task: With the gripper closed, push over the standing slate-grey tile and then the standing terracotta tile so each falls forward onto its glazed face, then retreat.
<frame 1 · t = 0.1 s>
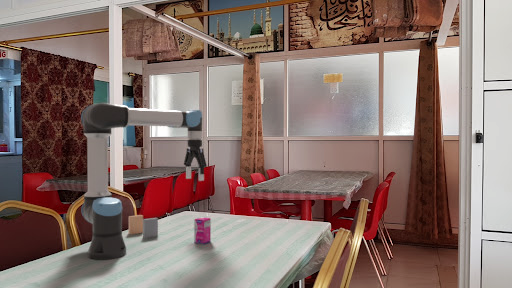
hand: (194, 179, 208), 28 cm above the table, fingers open, 13 cm apart
terracotta tile: (135, 233, 207), on the table
supplement box: (202, 242, 188), on the table
slate tile: (150, 236, 199), on the table
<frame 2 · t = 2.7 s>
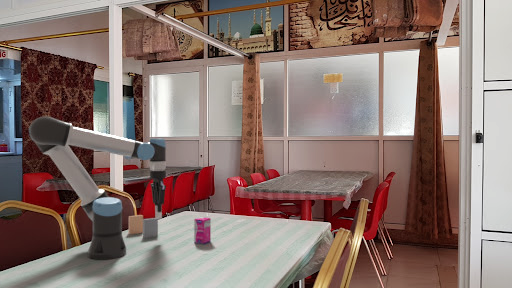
hand: (158, 218, 192), 11 cm above the table, fingers closed
nothing on the table moved.
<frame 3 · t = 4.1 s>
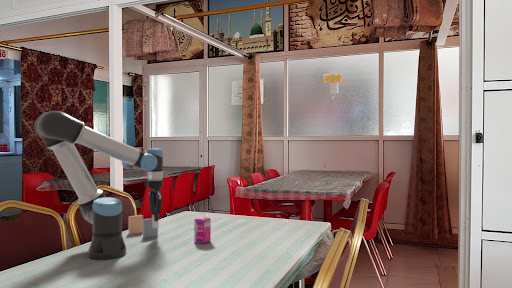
hand: (155, 227, 195), 6 cm above the table, fingers closed
nothing on the table moved.
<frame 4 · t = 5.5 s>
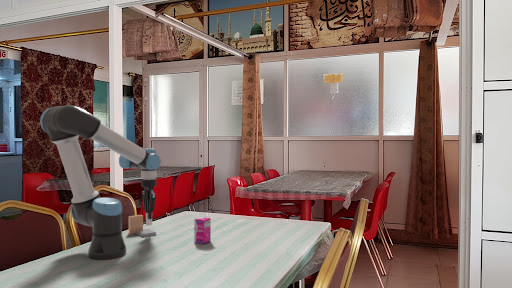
hand: (148, 225, 201), 5 cm above the table, fingers closed
slate tile: (149, 234, 200), point 1 cm above the table, tilted 90°
everything else where it was.
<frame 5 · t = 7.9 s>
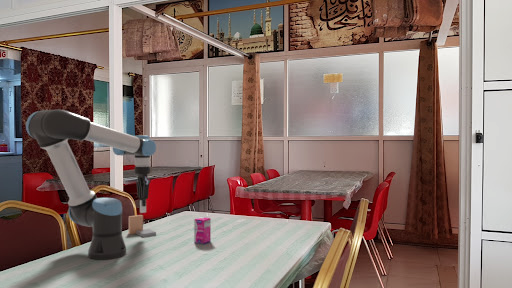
hand: (143, 212, 200), 12 cm above the table, fingers closed
nothing on the table moved.
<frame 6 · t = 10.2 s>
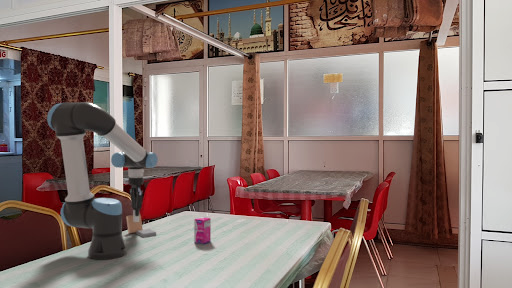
hand: (136, 221, 207), 6 cm above the table, fingers closed
terracotta tile: (135, 232, 207), on the table, tilted 22°
everything else where it was.
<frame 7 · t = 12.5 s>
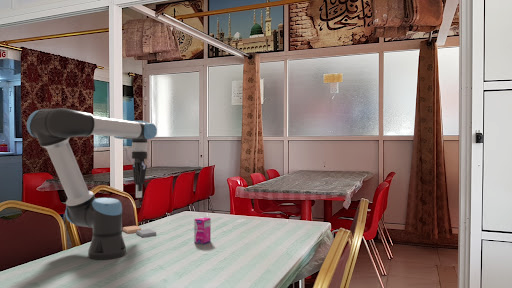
hand: (138, 197, 201), 19 cm above the table, fingers closed
terracotta tile: (134, 231, 208), point 1 cm above the table, tilted 90°
everything else where it was.
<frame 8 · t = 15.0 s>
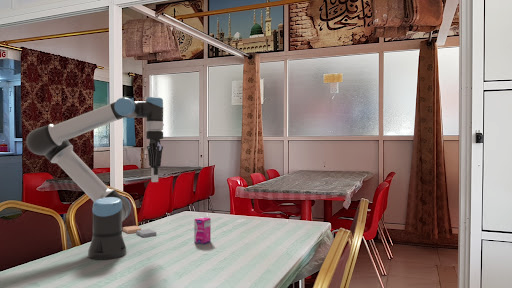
hand: (154, 181, 182), 29 cm above the table, fingers closed
nothing on the table moved.
at the end: slate tile tilted 90°; terracotta tile tilted 90°; terracotta tile inside the target area (2.2 cm from its centre), point 0.6 cm above the table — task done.
